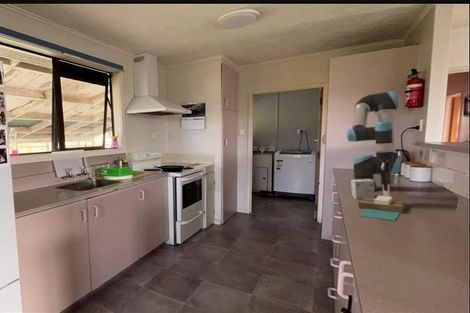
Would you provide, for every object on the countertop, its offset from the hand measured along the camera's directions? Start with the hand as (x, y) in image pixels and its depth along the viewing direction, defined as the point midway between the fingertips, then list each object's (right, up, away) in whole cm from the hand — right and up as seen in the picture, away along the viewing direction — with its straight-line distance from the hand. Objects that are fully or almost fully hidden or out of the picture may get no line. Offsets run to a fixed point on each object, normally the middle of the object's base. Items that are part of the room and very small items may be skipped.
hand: (386, 196), depth 121 cm
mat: (-12, -6, -13) cm, 19 cm away
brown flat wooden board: (-5, -5, -3) cm, 8 cm away
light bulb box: (-3, -4, +17) cm, 18 cm away
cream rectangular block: (-5, -2, -5) cm, 7 cm away
